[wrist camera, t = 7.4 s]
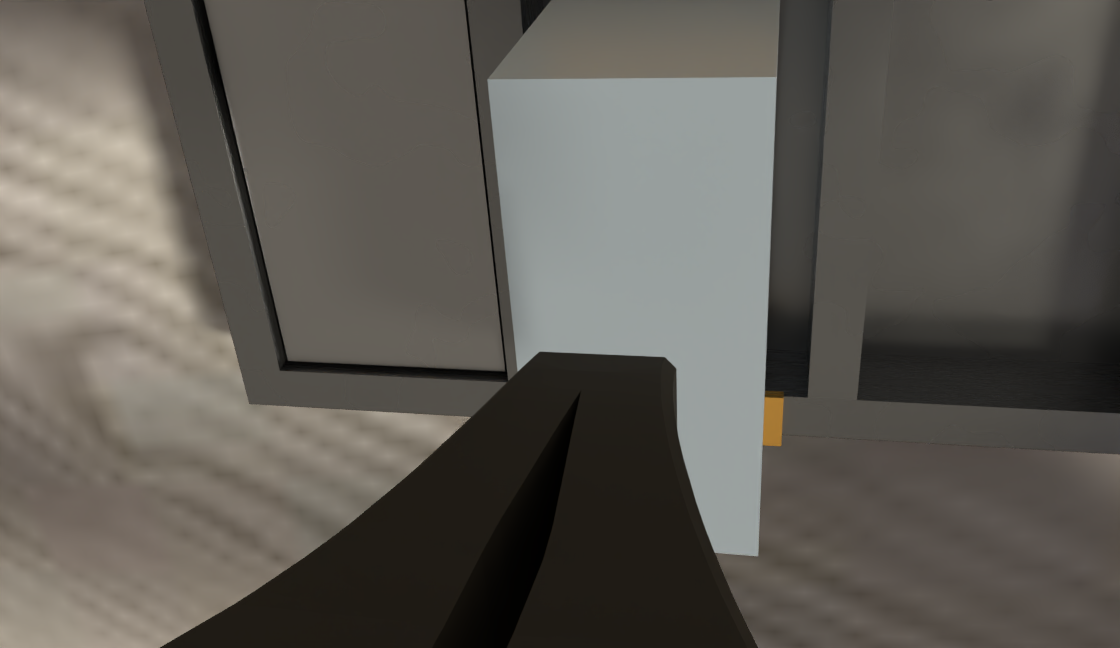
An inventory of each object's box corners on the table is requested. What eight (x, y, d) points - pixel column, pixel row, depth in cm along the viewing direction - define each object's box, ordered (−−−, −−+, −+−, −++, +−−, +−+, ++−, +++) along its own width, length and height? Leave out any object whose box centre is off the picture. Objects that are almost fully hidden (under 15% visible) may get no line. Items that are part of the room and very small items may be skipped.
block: (583, -40, 16) (488, 79, 11) (781, -46, 16) (776, 76, 10) (602, 319, 19) (535, 538, 14) (767, 325, 19) (758, 556, 14)
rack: (1149, 393, 19) (1190, 470, 17) (292, 353, 22) (246, 414, 20) (1312, -228, 14) (1395, -217, 12) (174, -163, 17) (97, -146, 15)
